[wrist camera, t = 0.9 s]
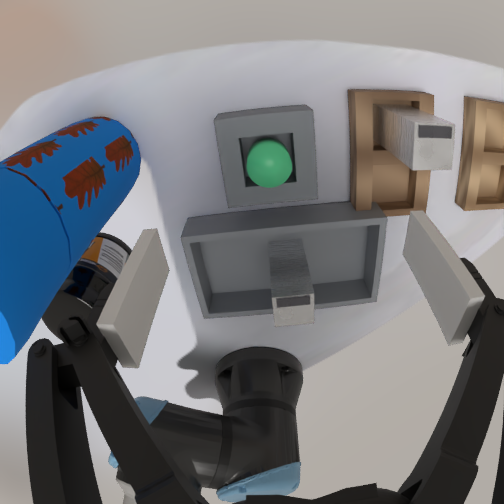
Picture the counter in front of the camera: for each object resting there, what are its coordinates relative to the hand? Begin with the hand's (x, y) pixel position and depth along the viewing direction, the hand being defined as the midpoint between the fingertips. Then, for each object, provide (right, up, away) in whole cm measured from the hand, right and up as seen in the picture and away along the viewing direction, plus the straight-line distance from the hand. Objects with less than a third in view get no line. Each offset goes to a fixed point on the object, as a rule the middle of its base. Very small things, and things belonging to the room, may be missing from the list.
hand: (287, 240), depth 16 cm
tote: (+2, -1, +24) cm, 24 cm away
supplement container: (-22, -2, +25) cm, 33 cm away
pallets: (+21, +11, +16) cm, 28 cm away
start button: (0, +9, +14) cm, 17 cm away
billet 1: (+2, -1, +23) cm, 23 cm away
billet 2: (+13, +13, +14) cm, 23 cm away
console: (0, +10, +17) cm, 20 cm away
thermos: (-19, +10, +17) cm, 28 cm away
